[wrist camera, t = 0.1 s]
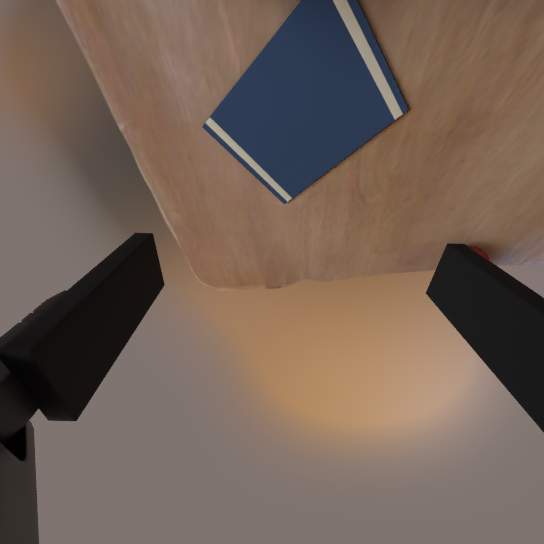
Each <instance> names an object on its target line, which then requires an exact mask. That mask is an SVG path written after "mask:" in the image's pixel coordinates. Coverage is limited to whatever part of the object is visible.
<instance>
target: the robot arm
mask: <svg viewBox="0 0 544 544" xmlns="http://www.w3.org/2000/svg"><path fill="white" fill-rule="evenodd" d="M163 286H164V280H163V277H162V272H161V267H160V263H159V259H158V255H157V250H156V246H155V241H154V237H153V234H152V233H135V234H133V235H132V236H131V237H130V238H129V239H128V240H127V241H125V242H124V243H123V244H122V245H121V246H119V247H118V248H117V249H116V250H115V251H113V252H112V253H111V254H110V255H109V256H107V257H106V258H105V259H104V260H103V261H102V262H100V263H99V264H98V265H97V266H96V267H95V268H93V269H92V270H91V271H90V272H89V273H87V274H86V275H85V276H84V277H83V278H82V279H80V280H79V281H78V282H77V283H76V284H74V285H73V286H72V287H71V288H70V289H69V290H67V291H63V292H61V293H59V294H57V295H55V296H53V297H51V298H49V299H47V300H46V301H45V302H43V303H42V304H41V305H40V306H38V307H37V308H36V309H35V310H33V313H30V314H29V315H27V316H26V317H25V318H24V319H22V322H21V323H17V324H16V325H15V326H14V327H13V328H11V329H10V330H9V331H8V332H6V333H5V334H4V335H3V336H1V337H0V544H39V536H38V513H37V491H36V468H35V447H34V428H33V426H32V423H31V422H30V421H29V419H30V418H31V417H32V416H33V415H34V414H35V412H36V411H37V410H38V409H40V410H41V412H42V413H43V414H44V416H45V417H46V418H47V419H48V420H52V421H77V419H78V417H79V416H80V415H81V413H82V411H83V410H84V408H85V407H86V405H87V404H88V402H89V401H90V399H91V398H92V396H93V394H94V393H95V391H96V390H97V388H98V387H99V385H100V384H101V382H102V381H103V379H104V378H105V376H106V374H107V373H108V371H109V370H110V368H111V367H112V365H113V363H114V362H115V360H116V359H117V357H118V356H119V354H120V353H121V351H122V350H123V348H124V347H125V345H126V343H127V342H128V340H129V339H130V337H131V336H132V334H133V333H134V331H135V330H136V328H137V327H138V325H139V323H140V322H141V320H142V319H143V317H144V316H145V314H146V313H147V311H148V310H149V308H150V306H151V305H152V303H153V302H154V300H155V299H156V297H157V296H158V294H159V293H160V291H161V290H162V288H163ZM426 294H427V295H428V296H429V297H430V299H431V300H432V301H433V302H434V303H435V305H436V306H437V307H438V308H439V309H440V310H441V312H442V313H443V314H444V315H445V316H446V318H447V319H448V320H449V321H450V322H451V324H452V325H453V326H454V327H455V328H456V329H457V331H458V332H459V333H460V334H461V335H462V336H463V338H464V339H465V340H466V341H467V342H468V343H469V345H470V346H471V347H472V348H473V349H474V351H475V352H476V353H477V354H478V355H479V357H480V358H481V359H482V360H483V361H484V362H485V363H486V365H487V366H488V367H489V368H490V369H491V371H492V372H493V373H494V374H495V375H496V377H497V378H498V379H499V380H500V381H501V383H502V384H503V385H504V386H505V387H506V388H507V390H508V391H509V392H510V393H511V394H512V396H514V398H515V399H516V400H517V401H518V403H519V404H520V405H521V406H522V407H523V408H524V410H525V411H526V412H527V413H528V414H529V416H530V417H531V418H532V419H533V420H534V421H535V423H536V424H537V425H538V426H539V427H540V429H541V430H542V431H543V432H544V298H543V297H541V296H540V295H538V294H537V293H536V292H534V291H533V290H531V289H530V288H528V287H527V286H525V285H524V284H522V283H521V282H519V281H518V280H516V279H515V278H514V277H512V276H511V275H509V274H508V273H506V272H505V271H503V270H502V269H500V268H499V267H497V266H496V265H494V264H493V263H492V262H490V261H489V260H487V259H486V258H484V257H483V256H481V255H480V254H478V253H477V252H475V251H474V250H472V249H471V248H470V247H468V246H467V245H465V244H448V243H447V246H446V248H445V250H444V253H443V255H442V257H441V259H440V262H439V264H438V266H437V269H436V271H435V274H434V276H433V278H432V281H431V282H430V285H429V287H428V289H427V292H426Z"/></svg>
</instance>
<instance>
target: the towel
mask: <svg viewBox="0 0 544 544" xmlns="http://www.w3.org/2000/svg"><path fill="white" fill-rule="evenodd" d="M406 111H408V107H407V105H406V103H405V101H404V99H403V96H402V94H401V92H400V90H399V88H398V86H397V84H396V82H395V79H394V77H393V75H392V73H391V71H390V69H389V67H388V65H387V62H386V60H385V58H384V56H383V54H382V52H381V50H380V48H379V45H378V43H377V41H376V39H375V37H374V35H373V33H372V31H371V28H370V26H369V24H368V22H367V20H366V18H365V16H364V14H363V11H362V9H361V7H360V5H359V3H358V1H357V0H302V1H301V2H300V3H299V4H298V6H297V7H296V8H295V10H294V11H293V12H292V13H291V15H290V16H289V17H288V18H287V20H286V21H285V22H284V24H283V25H282V26H281V27H280V29H279V30H278V31H277V32H276V34H275V35H274V36H273V37H272V39H271V40H270V41H269V43H268V44H267V45H266V46H265V48H264V49H263V50H262V51H261V53H260V54H259V55H258V56H257V58H256V59H255V60H254V62H253V63H252V64H251V65H250V67H249V68H248V69H247V70H246V72H245V73H244V74H243V76H242V77H241V78H240V79H239V81H238V82H237V83H236V84H235V86H234V87H233V88H232V89H231V91H230V92H229V93H228V95H227V96H226V97H225V98H224V100H223V101H222V102H221V103H220V105H219V106H218V107H217V108H216V110H215V111H214V112H213V114H212V115H211V116H210V117H209V119H208V120H207V121H206V122H205V124H204V125H203V128H204V129H205V130H206V131H207V132H208V133H209V134H210V135H211V136H212V137H213V138H215V139H216V140H217V141H218V142H219V143H220V144H221V145H222V146H223V147H224V148H225V149H226V150H227V151H228V152H229V153H230V154H232V155H233V156H234V157H235V158H236V159H237V160H238V161H239V162H240V163H241V164H242V165H243V166H244V167H245V168H246V169H247V170H249V171H250V172H251V173H252V174H253V175H254V176H255V177H256V178H257V179H258V180H259V181H260V182H261V183H262V184H263V185H265V186H266V187H267V188H268V189H269V190H270V191H271V192H272V193H273V194H274V195H275V196H276V197H277V198H278V199H279V200H280V201H282V202H283V203H284V204H285V203H287V202H288V201H289V200H291V199H292V198H293V197H295V196H296V195H297V194H299V193H300V192H301V191H302V190H304V189H305V188H306V187H308V186H309V185H310V184H312V183H313V182H314V181H316V180H317V179H318V178H320V177H321V176H322V175H323V174H325V173H326V172H327V171H329V170H330V169H331V168H333V167H334V166H335V165H337V164H338V163H339V162H341V161H342V160H343V159H345V158H346V157H347V156H348V155H350V154H351V153H352V152H354V151H355V150H356V149H358V148H359V147H360V146H362V145H363V144H364V143H366V142H367V141H368V140H369V139H371V138H372V137H373V136H375V135H376V134H377V133H379V132H380V131H381V130H383V129H384V128H385V127H387V126H388V125H389V124H391V123H392V122H393V121H394V120H396V119H397V118H399V117H400V116H401V115H402V114H404V113H405V112H406Z"/></svg>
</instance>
